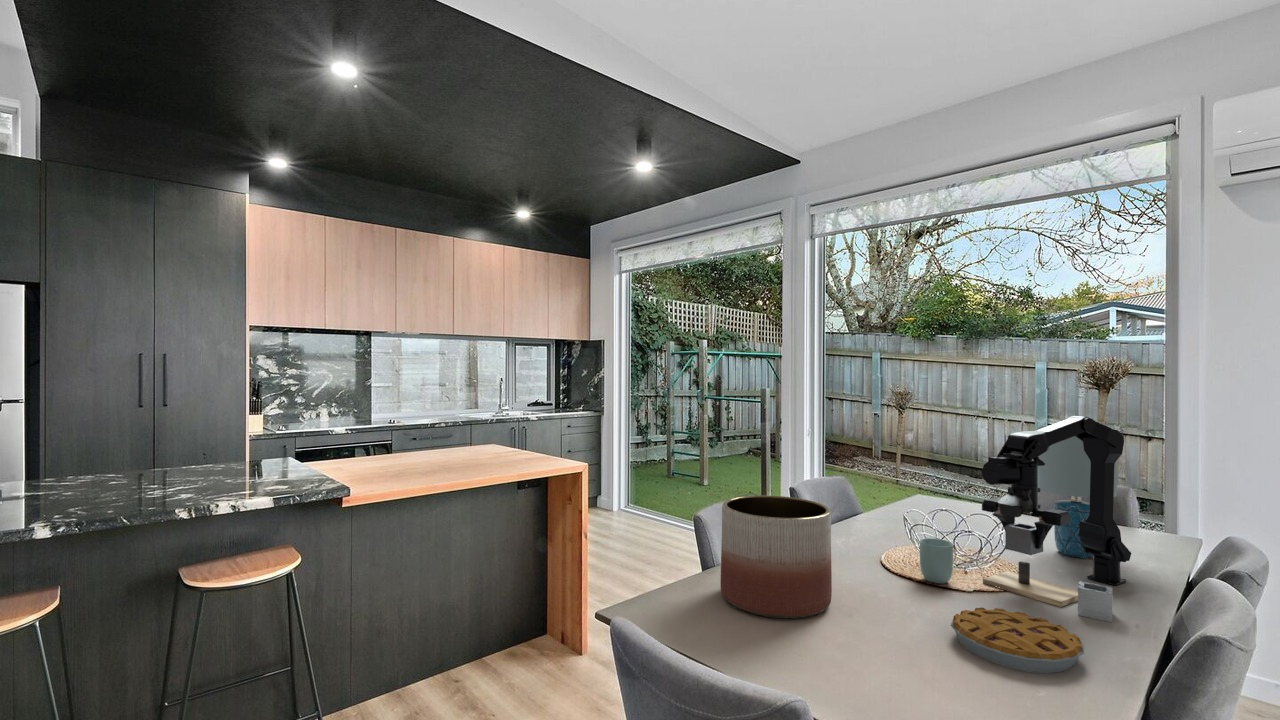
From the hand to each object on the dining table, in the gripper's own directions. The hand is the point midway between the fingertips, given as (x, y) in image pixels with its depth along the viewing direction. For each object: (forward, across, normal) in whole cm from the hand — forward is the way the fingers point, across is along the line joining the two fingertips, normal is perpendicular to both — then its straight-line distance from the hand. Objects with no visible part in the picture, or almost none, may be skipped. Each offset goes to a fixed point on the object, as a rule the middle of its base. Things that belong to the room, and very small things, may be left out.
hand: (1024, 545), depth 152 cm
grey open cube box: (+11, +17, -4) cm, 20 cm away
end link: (+1, 0, 0) cm, 1 cm away
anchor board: (+11, +2, 0) cm, 11 cm away
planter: (+11, -25, -61) cm, 67 cm away
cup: (+11, -14, -15) cm, 23 cm away
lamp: (+11, -7, +44) cm, 46 cm away
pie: (+11, +17, -38) cm, 43 cm away
